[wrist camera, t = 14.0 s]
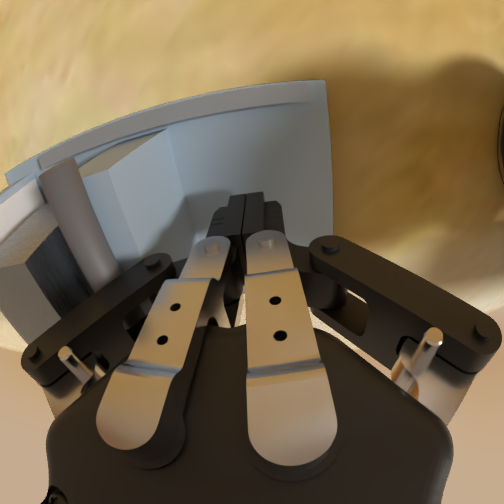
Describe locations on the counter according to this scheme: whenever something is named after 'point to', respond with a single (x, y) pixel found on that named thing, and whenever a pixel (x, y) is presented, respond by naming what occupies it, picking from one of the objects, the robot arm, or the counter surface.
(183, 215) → the free jaw
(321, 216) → the vise base
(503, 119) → the apothecary jar
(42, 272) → the block
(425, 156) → the counter surface
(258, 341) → the robot arm
